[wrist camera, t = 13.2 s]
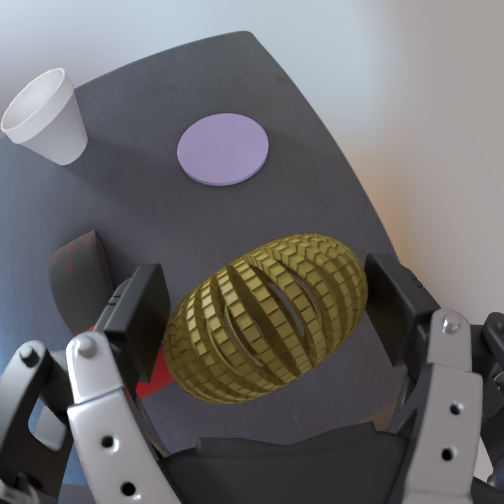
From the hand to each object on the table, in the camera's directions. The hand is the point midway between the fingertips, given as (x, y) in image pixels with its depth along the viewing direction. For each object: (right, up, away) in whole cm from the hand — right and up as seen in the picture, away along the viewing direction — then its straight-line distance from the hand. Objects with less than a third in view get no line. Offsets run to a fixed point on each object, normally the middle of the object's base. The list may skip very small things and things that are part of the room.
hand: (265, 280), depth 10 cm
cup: (-31, +18, +27) cm, 44 cm away
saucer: (-4, +15, +25) cm, 29 cm away
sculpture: (0, -3, +4) cm, 5 cm away
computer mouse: (-20, -3, +20) cm, 29 cm away
